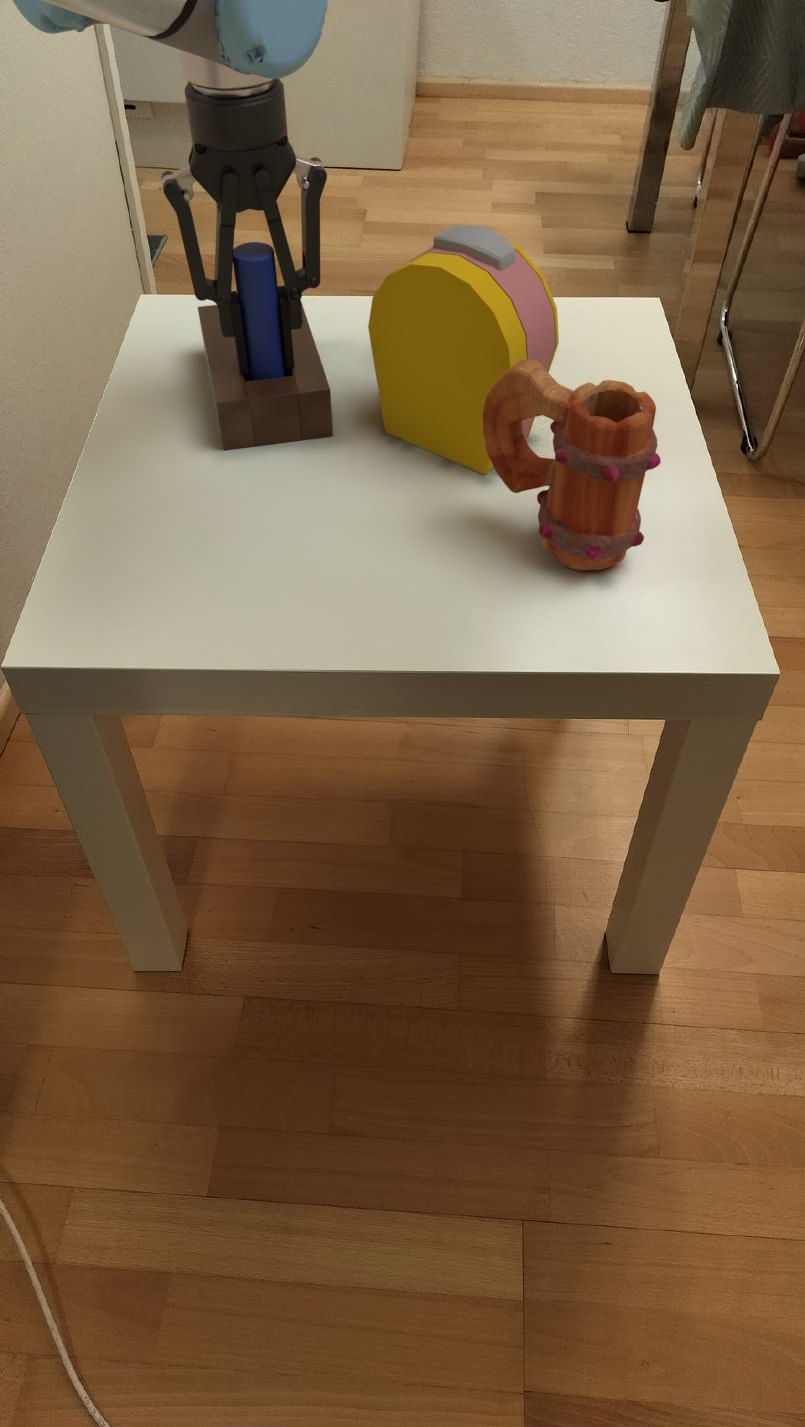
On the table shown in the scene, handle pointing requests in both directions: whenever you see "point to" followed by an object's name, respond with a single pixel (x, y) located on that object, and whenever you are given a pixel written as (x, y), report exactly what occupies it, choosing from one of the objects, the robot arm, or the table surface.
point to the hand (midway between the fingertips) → (265, 362)
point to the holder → (266, 391)
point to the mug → (575, 460)
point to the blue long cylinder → (259, 309)
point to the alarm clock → (457, 338)
